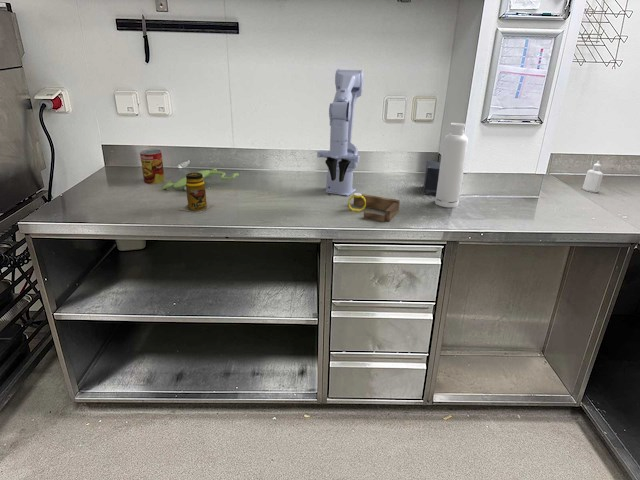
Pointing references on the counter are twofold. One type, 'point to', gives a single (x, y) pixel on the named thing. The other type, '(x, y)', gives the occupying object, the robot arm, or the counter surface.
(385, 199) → the wooden u-shaped block
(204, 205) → the condiment
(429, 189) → the small box
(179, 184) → the figurine
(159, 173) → the canned food
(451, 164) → the bottle
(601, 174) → the eye dropper bottle
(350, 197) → the watch
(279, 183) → the counter surface
